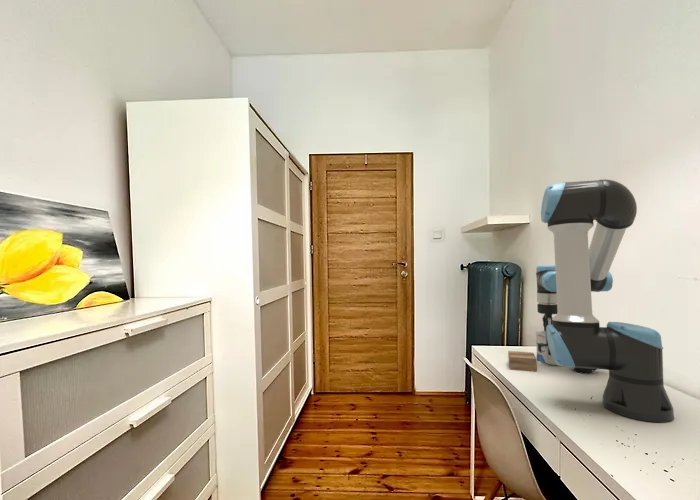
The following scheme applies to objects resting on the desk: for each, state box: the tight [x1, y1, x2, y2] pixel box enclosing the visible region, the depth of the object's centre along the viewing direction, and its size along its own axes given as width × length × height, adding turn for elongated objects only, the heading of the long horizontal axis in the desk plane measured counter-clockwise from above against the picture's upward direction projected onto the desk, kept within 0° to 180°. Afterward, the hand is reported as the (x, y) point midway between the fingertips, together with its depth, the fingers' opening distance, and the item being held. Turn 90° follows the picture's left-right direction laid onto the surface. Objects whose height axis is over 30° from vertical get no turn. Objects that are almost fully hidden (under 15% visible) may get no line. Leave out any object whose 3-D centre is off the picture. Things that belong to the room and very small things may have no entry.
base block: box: [507, 350, 538, 373], centre depth 136 cm, size 9×9×5 cm
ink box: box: [535, 330, 559, 366], centre depth 141 cm, size 8×5×12 cm, turn 17°
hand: (549, 359), depth 141 cm, fingers closed on ink box, 9 cm apart
